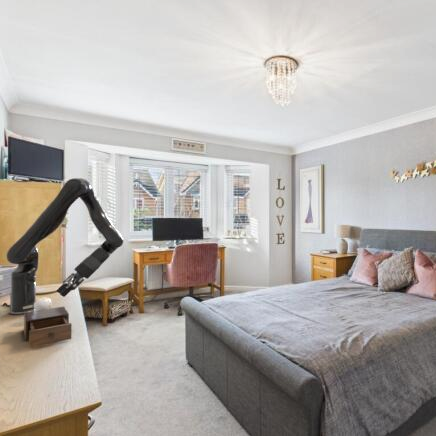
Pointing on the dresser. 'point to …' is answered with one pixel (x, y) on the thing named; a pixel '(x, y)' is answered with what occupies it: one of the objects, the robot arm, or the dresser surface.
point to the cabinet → (43, 317)
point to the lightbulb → (42, 304)
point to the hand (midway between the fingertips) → (59, 294)
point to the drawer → (49, 331)
